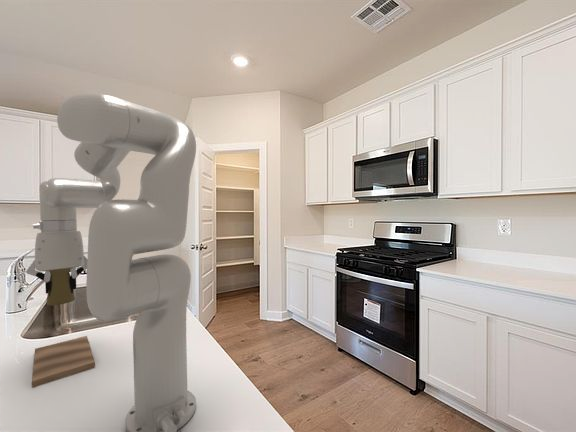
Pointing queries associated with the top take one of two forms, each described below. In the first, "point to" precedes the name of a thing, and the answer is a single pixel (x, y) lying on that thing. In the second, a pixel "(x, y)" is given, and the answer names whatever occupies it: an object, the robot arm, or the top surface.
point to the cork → (60, 287)
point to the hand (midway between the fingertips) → (61, 293)
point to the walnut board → (61, 360)
